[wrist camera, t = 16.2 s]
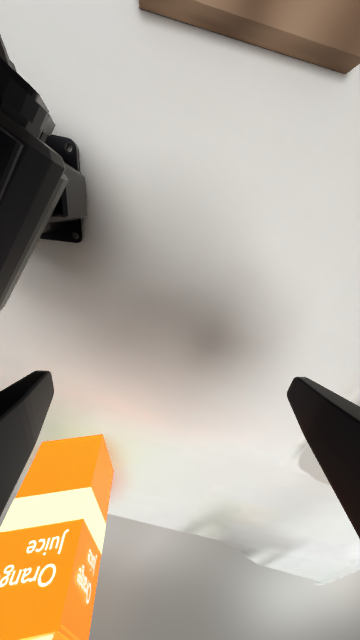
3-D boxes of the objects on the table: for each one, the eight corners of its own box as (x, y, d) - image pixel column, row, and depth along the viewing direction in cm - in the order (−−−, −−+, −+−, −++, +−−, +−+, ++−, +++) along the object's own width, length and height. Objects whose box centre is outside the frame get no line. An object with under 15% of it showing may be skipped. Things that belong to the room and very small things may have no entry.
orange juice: (103, 433, 27) (12, 844, 9) (114, 471, 31) (65, 811, 13) (40, 441, 26) (-190, 907, 9) (60, 479, 30) (-71, 852, 12)
